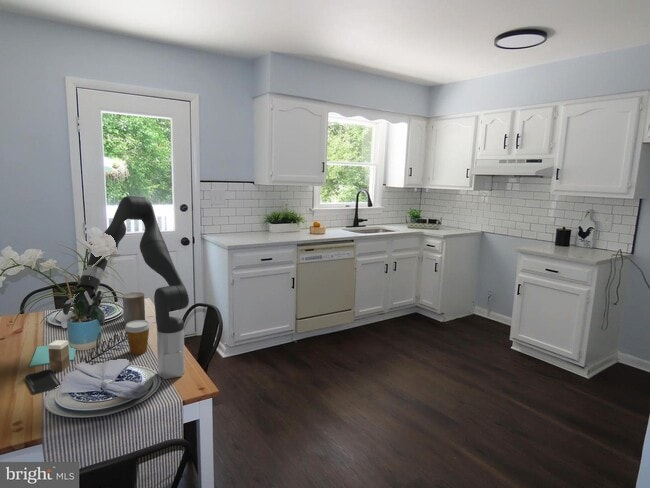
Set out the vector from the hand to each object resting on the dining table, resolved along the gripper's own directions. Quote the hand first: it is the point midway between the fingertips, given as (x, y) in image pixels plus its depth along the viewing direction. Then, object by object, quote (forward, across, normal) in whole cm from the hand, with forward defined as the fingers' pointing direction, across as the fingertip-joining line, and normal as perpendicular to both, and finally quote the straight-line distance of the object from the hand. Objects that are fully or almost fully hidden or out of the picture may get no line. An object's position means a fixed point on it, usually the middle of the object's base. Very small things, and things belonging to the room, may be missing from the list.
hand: (76, 314), depth 163 cm
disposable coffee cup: (+8, +22, +15) cm, 28 cm away
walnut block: (+20, 0, +3) cm, 20 cm away
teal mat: (+12, -9, +11) cm, 19 cm away
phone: (+28, +1, -4) cm, 28 cm away
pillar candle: (-15, +5, +39) cm, 42 cm away
